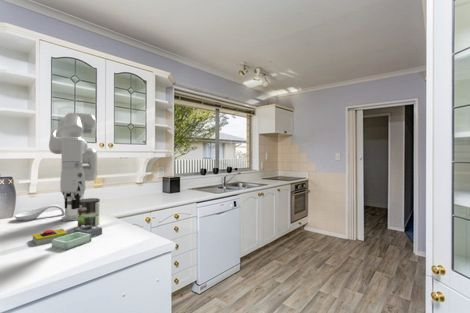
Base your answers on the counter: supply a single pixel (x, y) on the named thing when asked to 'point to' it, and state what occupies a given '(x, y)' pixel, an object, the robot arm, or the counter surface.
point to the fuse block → (89, 230)
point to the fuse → (70, 208)
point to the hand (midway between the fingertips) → (72, 207)
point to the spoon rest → (35, 213)
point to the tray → (71, 240)
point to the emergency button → (47, 236)
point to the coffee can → (88, 212)
